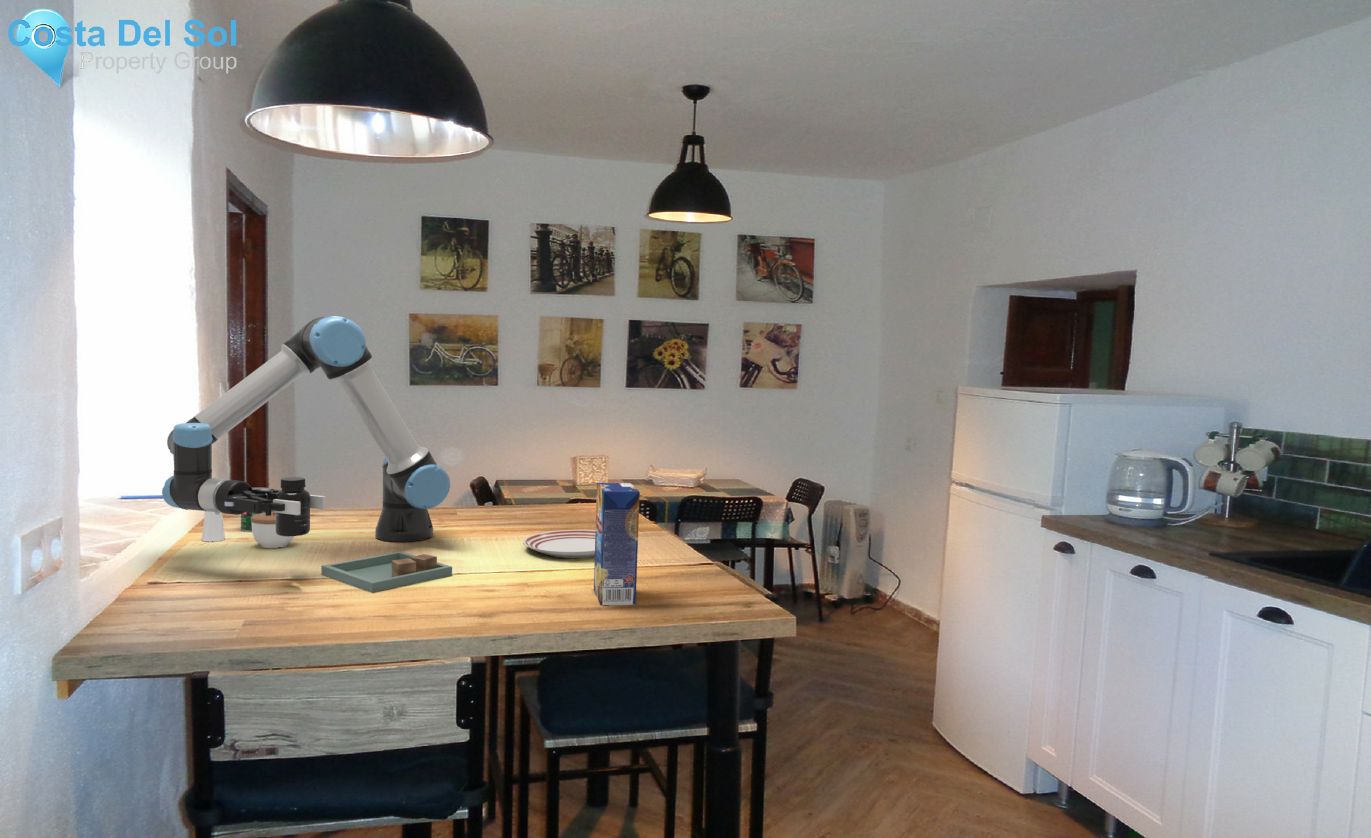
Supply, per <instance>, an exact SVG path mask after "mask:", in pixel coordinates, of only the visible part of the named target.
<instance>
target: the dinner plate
mask: <svg viewBox="0 0 1371 838" xmlns="http://www.w3.org/2000/svg"><path fill="white" fill-rule="evenodd" d="M595 533H596V529H595V530H594V529H564V530H563V529H562V530H551V531H544V532H539V533H535V534H532V535H529V536H527V537H525V538H523V540H522V545H524V546H526V547H527V548H529V549H531V550H533V551H536V552H539V553H542V554H545V555H546V554H548V555H547V556H550V555H551V556H550V557H556V558H562V557H566V558H565V559H586V558H585V557H590V558H595Z"/></svg>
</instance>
